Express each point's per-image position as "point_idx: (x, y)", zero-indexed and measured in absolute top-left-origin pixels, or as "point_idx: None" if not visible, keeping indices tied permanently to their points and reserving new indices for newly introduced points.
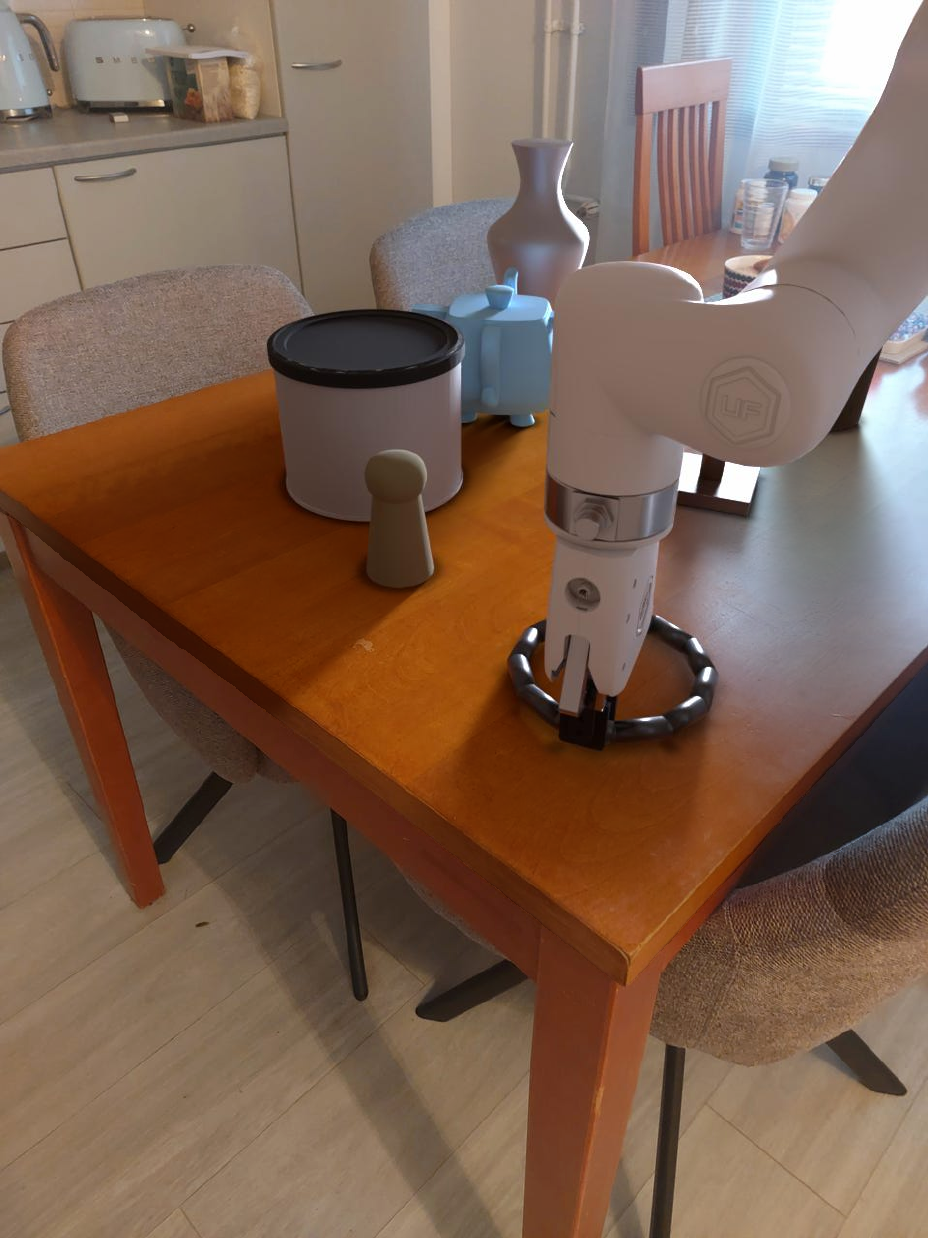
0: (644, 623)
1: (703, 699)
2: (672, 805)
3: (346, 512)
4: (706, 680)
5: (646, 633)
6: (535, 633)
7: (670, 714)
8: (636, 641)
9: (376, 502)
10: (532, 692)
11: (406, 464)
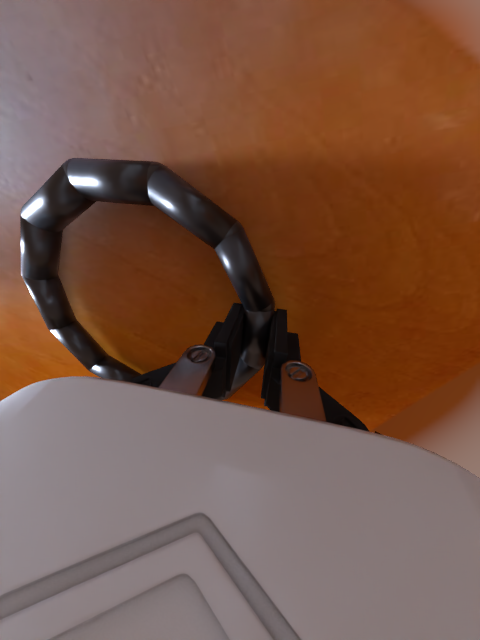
0: (139, 536)
1: (149, 176)
2: (367, 199)
3: None
4: (101, 178)
5: (119, 383)
6: None
7: (209, 232)
8: (325, 611)
9: None
10: (230, 392)
11: None
